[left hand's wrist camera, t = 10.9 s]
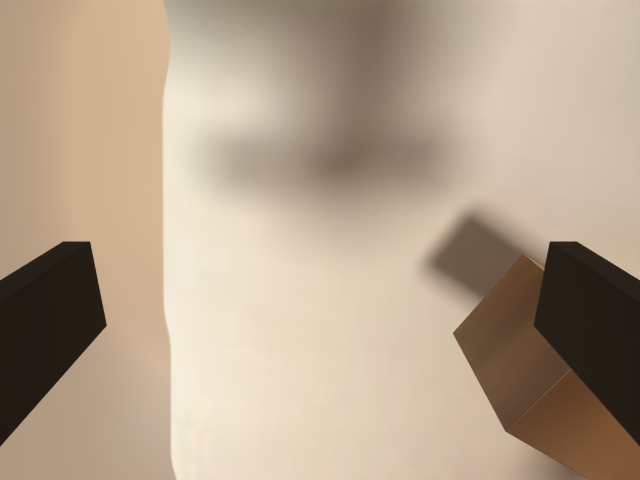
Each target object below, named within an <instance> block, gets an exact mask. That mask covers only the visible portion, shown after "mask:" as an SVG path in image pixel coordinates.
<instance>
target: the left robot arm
mask: <svg viewBox="0 0 640 480" xmlns="http://www.w3.org/2000/svg"><path fill="white" fill-rule="evenodd" d="M106 326H107V324H106V320H105V314H104V309H103V304H102V299H101V294H100V289H99V284H98V279H97V274H96V269H95V264H94V259H93V254H92V249H91V244H90V242H62V243H60V244H59V245H57V246H55V247H54V248H52V249H50V250H49V251H47V252H46V253H44V254H42V255H41V256H39V257H38V258H36V259H34V260H33V261H31V262H29V263H28V264H26V265H24V266H23V267H21V268H20V269H18V270H16V271H15V272H13V273H12V274H10V275H8V276H7V277H5V278H3V279H2V280H0V446H1V445H2V444H3V443H4V442H5V441H6V439H7V438H8V437H9V436H10V435H11V434H12V433H13V431H14V430H15V429H16V428H17V427H18V426H19V425H20V424H21V422H22V421H23V420H24V419H25V418H26V417H27V416H28V414H29V413H30V412H31V411H32V410H33V409H34V408H35V406H36V405H37V404H38V403H39V402H40V401H41V400H42V398H43V397H44V396H45V395H46V394H47V393H48V392H49V391H50V389H51V388H52V387H53V386H54V385H55V384H56V383H57V381H58V380H59V379H60V378H61V377H62V376H63V375H64V373H65V372H66V371H67V370H68V369H69V368H70V367H71V366H72V364H73V363H74V362H75V361H76V360H77V359H78V358H79V356H80V355H81V354H82V353H83V352H84V351H85V350H86V349H87V347H88V346H89V345H90V344H91V343H92V342H93V341H94V339H95V338H96V337H97V336H98V335H99V334H100V333H101V332H102V330H103V329H104V328H105V327H106ZM533 326H534V327H535V328H536V329H537V330H538V332H539V333H540V334H541V335H542V336H543V337H544V338H545V339H546V341H547V342H548V343H549V344H550V345H551V346H552V347H553V349H554V350H555V351H556V352H557V353H558V354H559V355H560V357H561V358H562V359H563V360H564V361H565V362H566V363H567V364H568V366H569V367H570V368H571V369H572V370H573V371H574V372H575V374H576V375H577V376H578V377H579V378H580V379H581V380H582V381H583V383H584V384H585V385H586V386H587V387H588V388H589V389H590V391H591V392H592V393H593V394H594V395H595V396H596V397H597V399H598V400H599V401H600V402H601V403H602V404H603V405H604V406H605V408H606V409H607V410H608V411H609V412H610V413H611V414H612V416H613V417H614V418H615V419H616V420H617V421H618V422H619V424H620V425H621V426H622V427H623V428H624V429H625V430H626V431H627V433H628V434H629V435H630V436H631V437H632V438H633V439H634V441H635V442H636V443H637V444H638V445H639V446H640V280H638V279H637V278H635V277H633V276H632V275H630V274H629V273H627V272H625V271H624V270H622V269H620V268H619V267H617V266H616V265H614V264H612V263H611V262H609V261H607V260H606V259H604V258H603V257H601V256H599V255H598V254H596V253H594V252H593V251H591V250H590V249H588V248H586V247H585V246H583V245H581V244H580V243H578V242H550V244H549V249H548V254H547V259H546V264H545V269H544V274H543V279H542V284H541V289H540V294H539V299H538V304H537V309H536V314H535V319H534V324H533Z"/></svg>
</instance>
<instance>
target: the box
mask: <svg viewBox="0 0 640 480" xmlns="http://www.w3.org/2000/svg"><path fill="white" fill-rule="evenodd" d="M544 269H545V268H544V267H542V266H541V265H539V264H538V263H537V262H535V261H534V260H532V259H531V258H529V257H528V256H526V255H525V254H523V255H522V256H521V257H520V258H519V260H518V261H517V262H516V263H515V264H514V265H513V266H512V267H511V269H510V270H509V271H508V272H507V273H506V274H505V275H504V276H503V278H502V279H501V280H500V281H499V282H498V283H497V284H496V285H495V286H494V288H493V289H492V290H491V291H490V292H489V293H488V294H487V295H486V297H485V298H484V299H483V300H482V301H481V302H480V303H479V304H478V306H477V307H476V308H475V309H474V310H473V311H472V312H471V313H470V314H469V316H468V317H467V318H466V319H465V320H464V321H463V322H462V323H461V325H460V326H459V327H458V328H457V329H456V330H455V331H454V332H453V335H454V336H455V338H456V340H457V342H458V344H459V346H460V348H461V349H462V351H463V353H464V355H465V357H466V359H467V361H468V363H469V364H470V366H471V368H472V370H473V372H474V374H475V376H476V377H477V379H478V381H479V383H480V385H481V387H482V389H483V390H484V392H485V394H486V396H487V398H488V400H489V402H490V404H491V405H492V407H493V409H494V411H495V413H496V415H497V417H498V418H499V420H500V422H501V424H502V426H503V428H504V430H505V431H506V432H507V433H509V434H511V435H513V436H514V437H516V438H518V439H520V440H521V441H523V442H525V443H526V444H528V445H530V446H532V447H533V448H535V449H537V450H539V451H540V452H542V453H544V454H546V455H547V456H549V457H551V458H552V459H554V460H556V461H558V462H559V463H561V464H563V465H565V466H566V467H568V468H570V469H572V470H573V471H575V472H577V473H578V474H580V475H582V476H584V477H585V478H587V479H589V480H640V446H639V445H638V444H637V443H636V442H635V441H634V439H633V438H632V437H631V436H630V435H629V434H628V433H627V431H626V430H625V429H624V428H623V427H622V426H621V425H620V424H619V422H618V421H617V420H616V419H615V418H614V417H613V416H612V414H611V413H610V412H609V411H608V410H607V409H606V408H605V406H604V405H603V404H602V403H601V402H600V401H599V400H598V399H597V397H596V396H595V395H594V394H593V393H592V392H591V391H590V389H589V388H588V387H587V386H586V385H585V384H584V383H583V381H582V380H581V379H580V378H579V377H578V376H577V375H576V374H575V372H574V371H573V370H572V369H571V368H570V367H569V366H568V364H567V363H566V362H565V361H564V360H563V359H562V358H561V357H560V355H559V354H558V353H557V352H556V351H555V350H554V349H553V347H552V346H551V345H550V344H549V343H548V342H547V341H546V339H545V338H544V337H543V336H542V335H541V334H540V333H539V332H538V330H537V329H536V328H535V327H534V326H533V324H534V319H535V314H536V309H537V304H538V299H539V294H540V289H541V284H542V279H543V274H544Z"/></svg>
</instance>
